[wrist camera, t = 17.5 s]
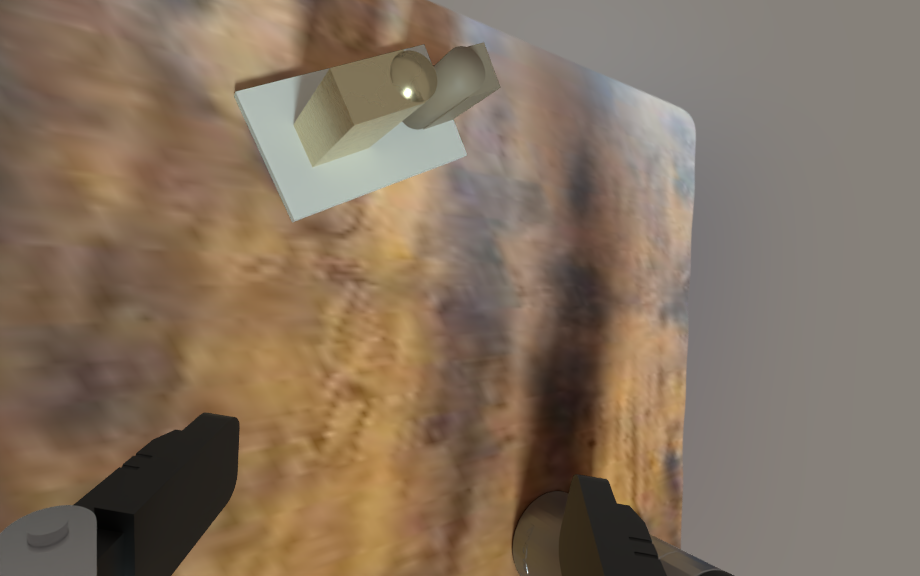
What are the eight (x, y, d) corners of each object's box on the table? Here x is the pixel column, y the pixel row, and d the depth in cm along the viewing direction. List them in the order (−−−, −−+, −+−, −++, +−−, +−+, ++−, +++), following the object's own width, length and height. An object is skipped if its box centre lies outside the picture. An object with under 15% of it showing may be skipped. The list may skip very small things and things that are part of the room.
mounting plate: (292, 222, 40) (323, 200, 32) (234, 96, 39) (250, 36, 30) (461, 157, 48) (525, 125, 39) (419, 49, 46) (476, -11, 37)
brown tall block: (312, 167, 40) (354, 125, 31) (293, 124, 40) (329, 68, 30) (385, 142, 43) (445, 96, 33) (369, 102, 43) (424, 43, 33)
